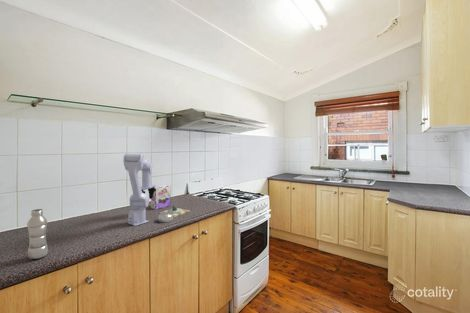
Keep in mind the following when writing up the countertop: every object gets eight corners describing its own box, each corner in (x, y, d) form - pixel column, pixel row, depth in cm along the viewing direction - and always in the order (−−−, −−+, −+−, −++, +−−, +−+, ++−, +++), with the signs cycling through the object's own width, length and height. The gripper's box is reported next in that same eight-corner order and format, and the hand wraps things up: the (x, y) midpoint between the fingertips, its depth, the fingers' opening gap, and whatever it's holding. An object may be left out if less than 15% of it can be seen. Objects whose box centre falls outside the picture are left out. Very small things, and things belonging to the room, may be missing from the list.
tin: (164, 224, 137) (164, 217, 137) (155, 221, 142) (155, 214, 142) (176, 220, 144) (176, 214, 144) (167, 217, 149) (167, 211, 149)
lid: (174, 214, 152) (174, 208, 152) (164, 212, 157) (164, 206, 157) (184, 211, 161) (184, 205, 161) (174, 209, 165) (174, 203, 165)
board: (172, 217, 149) (172, 216, 148) (158, 214, 156) (158, 212, 156) (189, 212, 162) (189, 210, 162) (176, 208, 170) (176, 207, 170)
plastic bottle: (29, 262, 90) (27, 213, 89) (26, 257, 94) (25, 210, 93) (49, 257, 94) (48, 210, 94) (46, 252, 99) (45, 207, 98)
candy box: (155, 210, 166) (155, 187, 166) (150, 208, 170) (150, 187, 169) (170, 206, 177) (170, 185, 177) (166, 204, 181) (166, 184, 180)
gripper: (142, 182, 145) (142, 202, 145) (158, 179, 158) (158, 198, 159) (134, 181, 148) (134, 201, 148) (151, 178, 161) (151, 197, 162)
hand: (146, 199), depth 154 cm, fingers open, 7 cm apart
